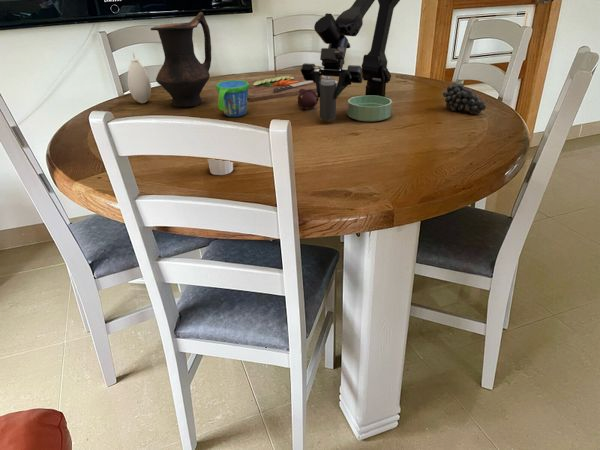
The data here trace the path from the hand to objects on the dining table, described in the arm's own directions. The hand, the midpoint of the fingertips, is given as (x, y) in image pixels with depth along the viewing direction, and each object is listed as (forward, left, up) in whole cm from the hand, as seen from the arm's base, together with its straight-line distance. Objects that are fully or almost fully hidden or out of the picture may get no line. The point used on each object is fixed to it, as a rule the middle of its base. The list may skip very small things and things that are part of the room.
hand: (326, 97), depth 140 cm
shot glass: (+41, +20, -8) cm, 46 cm away
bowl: (-16, 0, -8) cm, 18 cm away
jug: (+32, -45, -8) cm, 56 cm away
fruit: (-45, +12, -8) cm, 48 cm away
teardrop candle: (+47, -56, -8) cm, 74 cm away
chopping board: (-7, -50, -8) cm, 52 cm away
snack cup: (+22, -24, -8) cm, 34 cm away
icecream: (-2, -17, -8) cm, 20 cm away
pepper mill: (-1, -1, -7) cm, 7 cm away
